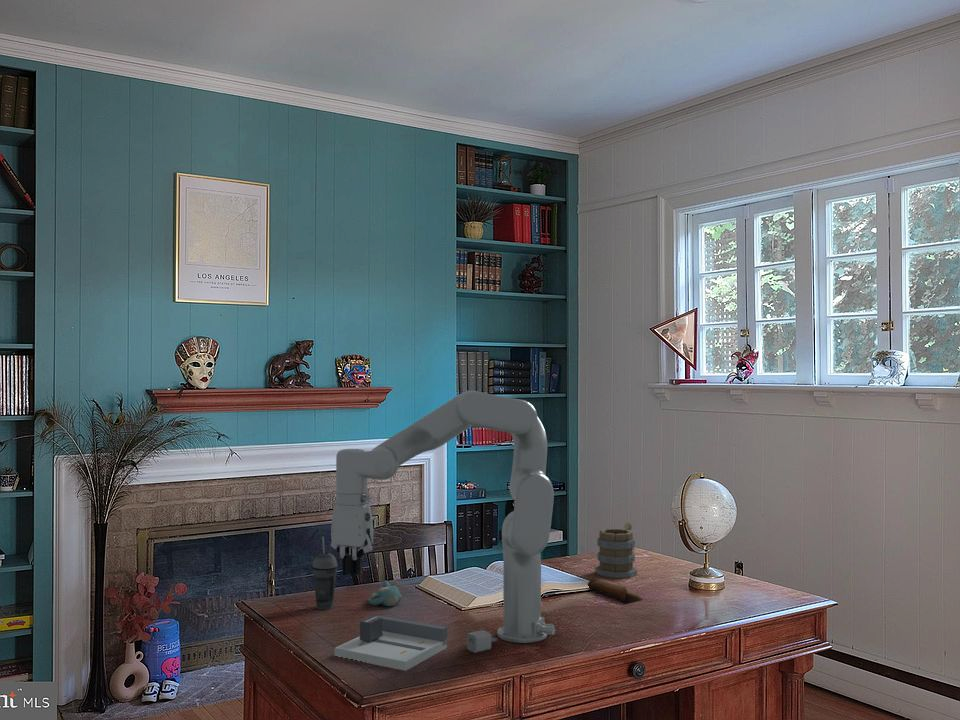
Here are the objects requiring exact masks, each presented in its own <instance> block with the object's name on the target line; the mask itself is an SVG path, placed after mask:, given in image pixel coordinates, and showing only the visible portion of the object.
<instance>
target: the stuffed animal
mask: <svg viewBox="0 0 960 720" xmlns="http://www.w3.org/2000/svg"><path fill="white" fill-rule="evenodd" d="M402 596H403V595H402V594H401V593H400V589H399V587H398V586H396V585H392V584H391V583H390V582H388V580H383V582H382V585H381V587H379V589H378V590H377V591H376V592H372V593H371V596H370V597H369V598H367V599H366V600H367V602H368V603H369V604H370V605H371V606H373V607H377V606H379V605H382V606H384V607H389V608H390V607H393V606H396V605H397V604H398V603H399V602H400V601H401V599H402Z"/></svg>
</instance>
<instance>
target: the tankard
mask: <svg viewBox="0 0 960 720" xmlns="http://www.w3.org/2000/svg"><path fill="white" fill-rule="evenodd" d="M632 529H633V526H632V525H631V524H630V522H626V523H625V524H624V526H623V527H622V528H604V529H601V530H600V531H599V532H598V533H599V537H598V538H597V547H599V551H598V552H597V561H599V565H598V566H596V567H594V570H595V571H594V572H595V573H596V574H597V575H599V576H600V577H603V578H604V577H605V578H611V579H626V578H627V579H628V578H632V577H634V576H636V575H637V574H638V569H637V568H636V567H634V566H633V565H634V563H635V561H636V559H635V558H636V556H635V554H634V553H633V552H634V551H633V549H634V547H635V545H636V541H635V539H634V537H633V535H634V534H633V533H634V532H633V531H631V530H632Z"/></svg>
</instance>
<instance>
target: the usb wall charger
mask: <svg viewBox="0 0 960 720" xmlns="http://www.w3.org/2000/svg"><path fill="white" fill-rule="evenodd" d="M498 638H499V637H493V634H492V635H491V633H490V632H489V631H486V630H484V629H482V630H477V631H473V632H468V633H467V634H466V648H467V650H468V651H470V652H473V653H475V654H477V653H481V652H485V651H489V650H492V643H493V642H496V641H499V640H498Z"/></svg>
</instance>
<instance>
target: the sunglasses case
mask: <svg viewBox="0 0 960 720" xmlns="http://www.w3.org/2000/svg"><path fill="white" fill-rule="evenodd" d="M587 585H588V586H589V588H590V589H589V591H594V592H599V593H602V594H604V595H607V596H610V597H612V598H615V599H618V600H621V601H623V602H625V603H626V604H630V603H634V602H635V603H636V602H640V601H645V600H646V599H645V598H644V597H643V596H641V595H640V594H638V593H636V592H634V591H633V590H632V589H628V588H626V586H625V585H622V584H621V583H616V582H614V581H611V580H607V579H605V578H602V579H601V578H592V579H590V580H589V581H588V582H587Z"/></svg>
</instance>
